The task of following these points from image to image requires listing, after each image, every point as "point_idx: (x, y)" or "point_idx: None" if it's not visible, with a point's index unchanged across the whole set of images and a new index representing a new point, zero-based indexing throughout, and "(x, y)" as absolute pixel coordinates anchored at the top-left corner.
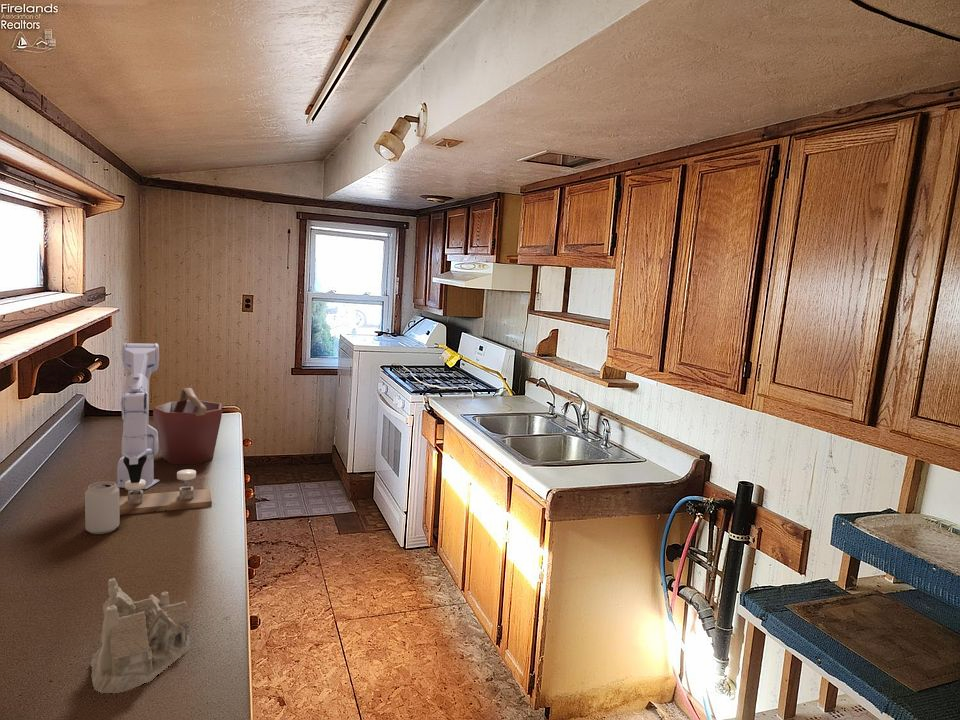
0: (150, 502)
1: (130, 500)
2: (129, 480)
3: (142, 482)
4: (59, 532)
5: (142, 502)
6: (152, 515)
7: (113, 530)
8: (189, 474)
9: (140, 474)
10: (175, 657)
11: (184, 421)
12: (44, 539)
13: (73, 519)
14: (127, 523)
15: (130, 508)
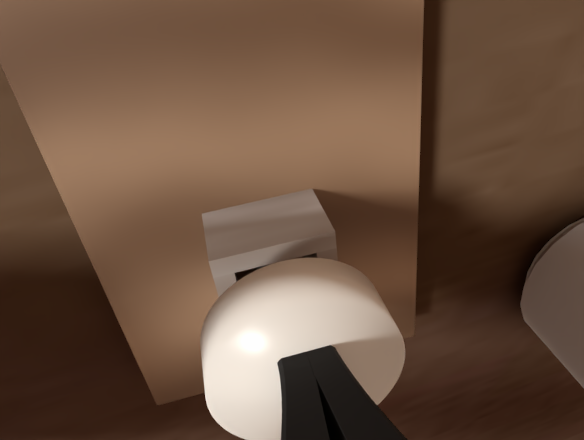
0: (310, 130)
1: None
2: (253, 435)
3: (340, 317)
4: (532, 392)
5: (307, 190)
6: (476, 55)
7: None
8: None
9: (390, 421)
10: None
11: None
12: (578, 402)
13: (400, 410)
14: (554, 177)
15: (413, 231)
